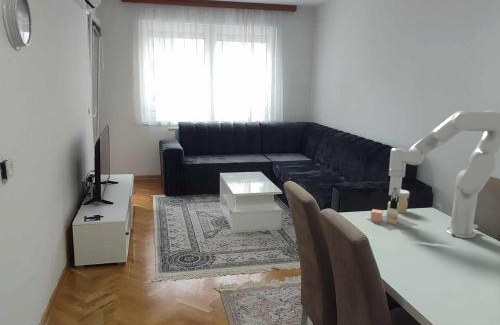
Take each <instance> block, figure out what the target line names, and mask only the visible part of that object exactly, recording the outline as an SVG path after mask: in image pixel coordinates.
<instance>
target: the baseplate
mask: <svg viewBox="0 0 500 325" xmlns="http://www.w3.org/2000/svg"><path fill="white" fill-rule="evenodd" d="M386 217H387V215H382V221H381V223H379V222H373V221H371V217H370V218H365V220H366V221H369V222H371V223H373V224H375V225H378V226H379V227H382V228H383V229H385V230H388V231H394V230H401V229H405V228H410V227H415V226H418V224H417V223H414V222H413V221H411V220H410V221H409V220H408V219H405V218H402V217H399V216H398V217H397V224H391V223H386Z"/></svg>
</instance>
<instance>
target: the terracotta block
mask: <svg viewBox="0 0 500 325" xmlns="http://www.w3.org/2000/svg"><path fill="white" fill-rule="evenodd" d="M383 213H384V212H383V210H382V209H374V208H373V209H371V213H370V218H371V221H373V222H379V223H381V221H382V216H383ZM371 221H370V222H371ZM373 222H372V223H373Z"/></svg>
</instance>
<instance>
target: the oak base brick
mask: <svg viewBox="0 0 500 325" xmlns="http://www.w3.org/2000/svg"><path fill="white" fill-rule="evenodd" d="M398 215H399V214H398ZM398 215H395V214H388V213H387V212H386V216H387V217H386V223H391V224H397V217H399V216H398Z"/></svg>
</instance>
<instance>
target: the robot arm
mask: <svg viewBox="0 0 500 325" xmlns="http://www.w3.org/2000/svg"><path fill="white" fill-rule="evenodd" d="M461 132H482V135H481V138H480V139H479V141H478V143H477V145H476V147H475V149H473V151H472V152H471V154H470V156H469V160H468V161H469V166H468V167H467V168H465V169H463V170H460V171H459V172H458V173H457V175H456V178H455V189H454V197H453V205H452V212H451V219H450V226H449V227H446V229H445V230H446V232H448V233H449V234H451V236H453V237H456V238H460V239H474V238H475V237H476V234H477V233H476V232H474V229H475V230H476V229H478V228H479V225H478V224H475V223H474V222H475V217H476V216H475V215H476V208H477V204H478V194H479V193H480V192H481V191H482V190H483V189H484V187H485V185H486V184H487V182H488V181H489V179H490V178H491V176H492V175H493V174H494V171H495V169H496V167H497V160H496V155H497V153H498V151H499V149H500V112H499V111H496V110H492V109H488V110H487V109H486V110H485V111H466V110H457V111H455V112H454V113H453V114H451V115H450V116H449V117H448V118H447V119H446V120H444V121H442V123H441V124H439V125H438V126H437V127H435V128H433V130H432V131H430V132H429V133H428V134H427V135H425V136H423V137H422V138H421V139H420V140H419V141H417V142H416V143H415V144H413V145H412V146H411V147H410V148H409V149H406V148H404V147H393V148H391V149H390V156H389V165H388V166H389V167H388V176H389V177H390V181H389V190H388V196H391V197H390V202H391V203H390V208H393V209H397V202H398V201H399V194H400V190H401V189H402V182H403V178H405V177H406V166H407V164H408V165H412V166H418V165H420V164H422V163H423V161H424V158H425V157H426V155H428V153H429V154H430V152H431V151H433V150H435V149H436V148H438V147H441V146H444V145H446V144H447V143H449V142H450V141H452V140H453V139H454V138H455V137H457V136H458V135H459V134H461Z"/></svg>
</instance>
